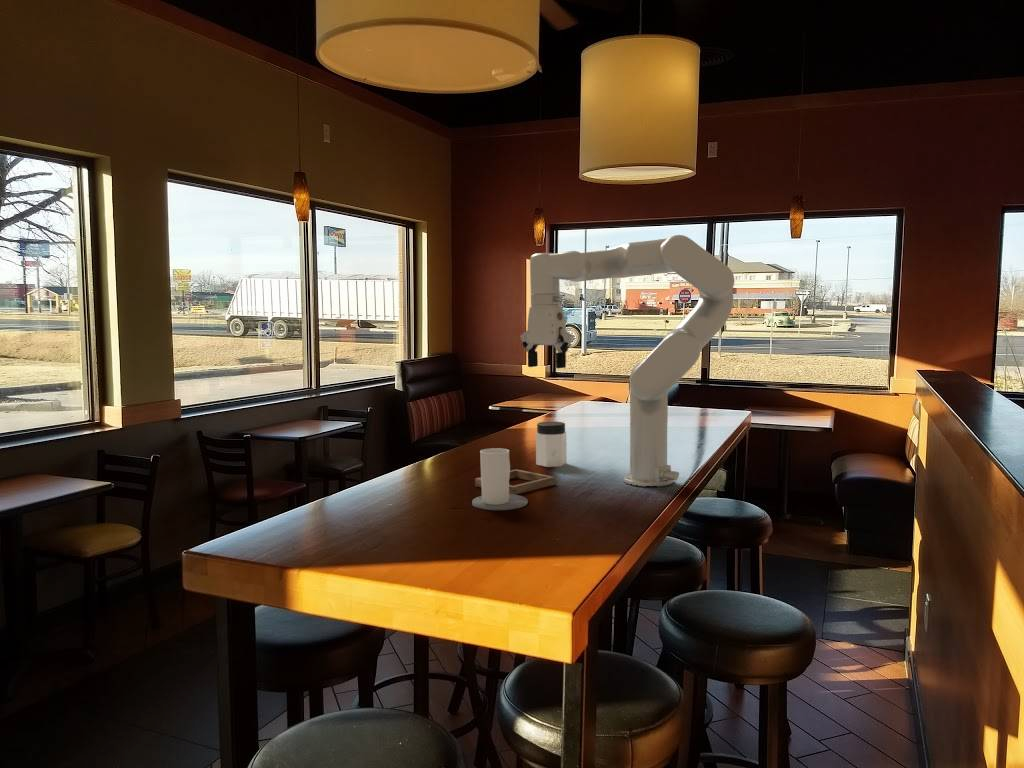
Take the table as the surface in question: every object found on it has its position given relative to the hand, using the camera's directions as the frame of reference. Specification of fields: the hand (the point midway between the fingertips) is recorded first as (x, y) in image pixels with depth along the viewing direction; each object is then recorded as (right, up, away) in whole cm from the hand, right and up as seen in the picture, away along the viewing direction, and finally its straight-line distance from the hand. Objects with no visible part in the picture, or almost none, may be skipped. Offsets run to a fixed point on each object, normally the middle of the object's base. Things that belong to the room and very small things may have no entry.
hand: (546, 367), depth 200 cm
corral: (-8, -31, -3) cm, 32 cm away
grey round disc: (-12, -32, -21) cm, 40 cm away
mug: (-12, -32, -21) cm, 40 cm away
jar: (+2, -28, +23) cm, 36 cm away
